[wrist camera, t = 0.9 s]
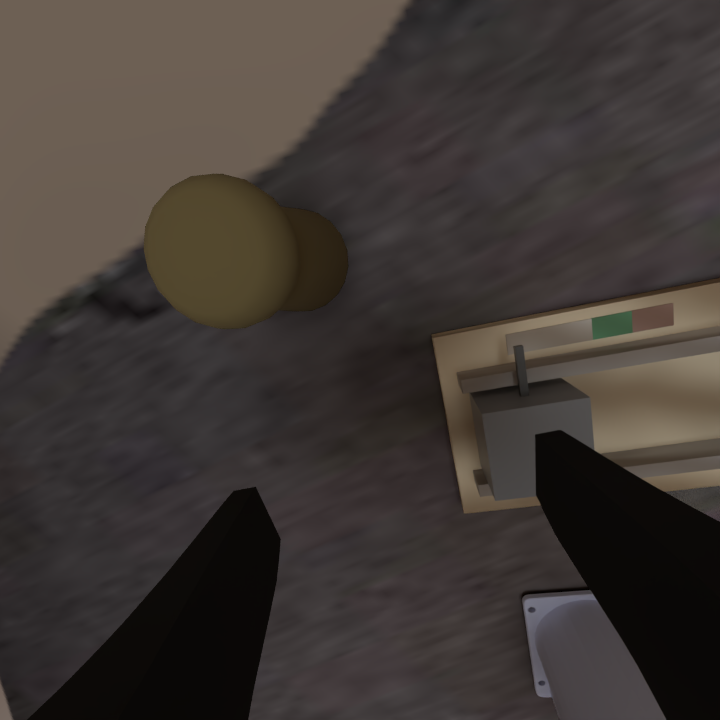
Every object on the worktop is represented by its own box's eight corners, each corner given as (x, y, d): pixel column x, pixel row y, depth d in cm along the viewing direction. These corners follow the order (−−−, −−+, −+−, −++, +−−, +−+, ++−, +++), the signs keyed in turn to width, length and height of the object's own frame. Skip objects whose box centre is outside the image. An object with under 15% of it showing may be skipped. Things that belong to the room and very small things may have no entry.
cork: (267, 320, 22) (148, 364, 12) (239, 223, 21) (78, 176, 11) (358, 300, 21) (316, 328, 11) (334, 197, 20) (261, 115, 10)
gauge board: (781, 464, 21) (837, 493, 18) (461, 502, 24) (468, 531, 21) (791, 263, 18) (859, 262, 16) (431, 334, 21) (435, 343, 19)
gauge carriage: (565, 454, 21) (597, 489, 18) (480, 465, 22) (495, 500, 18) (553, 329, 19) (585, 342, 16) (461, 346, 20) (473, 362, 17)
